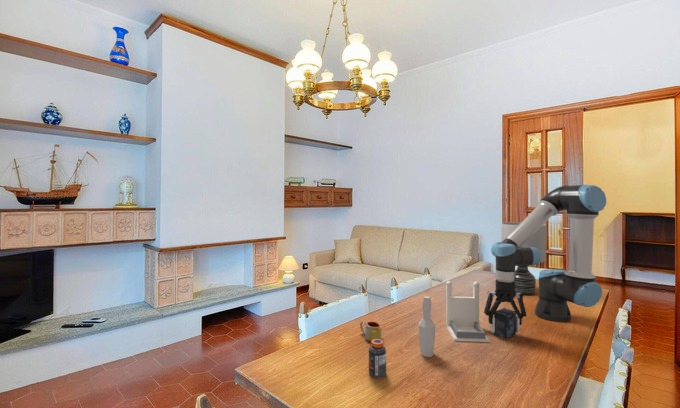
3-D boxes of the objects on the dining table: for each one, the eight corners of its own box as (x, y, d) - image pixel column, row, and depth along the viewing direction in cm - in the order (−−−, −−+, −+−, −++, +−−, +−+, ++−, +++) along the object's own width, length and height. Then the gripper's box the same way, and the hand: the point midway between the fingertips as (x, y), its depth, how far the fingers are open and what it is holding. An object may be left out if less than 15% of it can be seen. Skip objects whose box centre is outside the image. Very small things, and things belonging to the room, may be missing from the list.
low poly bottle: (432, 359, 120) (432, 300, 120) (416, 355, 124) (415, 298, 123) (437, 352, 126) (437, 296, 125) (421, 348, 129) (421, 293, 128)
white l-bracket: (478, 326, 150) (478, 280, 149) (489, 342, 134) (490, 290, 134) (445, 325, 151) (445, 280, 151) (453, 340, 136) (453, 290, 135)
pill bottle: (367, 369, 114) (367, 337, 114) (384, 368, 115) (384, 336, 114) (370, 379, 108) (370, 345, 108) (388, 378, 109) (387, 344, 108)
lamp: (554, 298, 189) (555, 225, 188) (513, 298, 190) (513, 225, 188) (531, 286, 213) (531, 222, 212) (494, 286, 214) (494, 222, 212)
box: (506, 340, 136) (506, 314, 136) (493, 335, 141) (493, 310, 141) (516, 335, 140) (516, 311, 140) (503, 330, 145) (503, 307, 145)
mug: (385, 340, 137) (385, 324, 137) (372, 344, 133) (372, 328, 133) (367, 330, 147) (367, 316, 147) (355, 334, 143) (355, 319, 143)
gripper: (528, 278, 142) (527, 329, 143) (475, 277, 145) (475, 327, 146) (536, 282, 135) (536, 336, 136) (481, 281, 137) (481, 334, 138)
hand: (504, 331), depth 141 cm, fingers closed on box, 9 cm apart
